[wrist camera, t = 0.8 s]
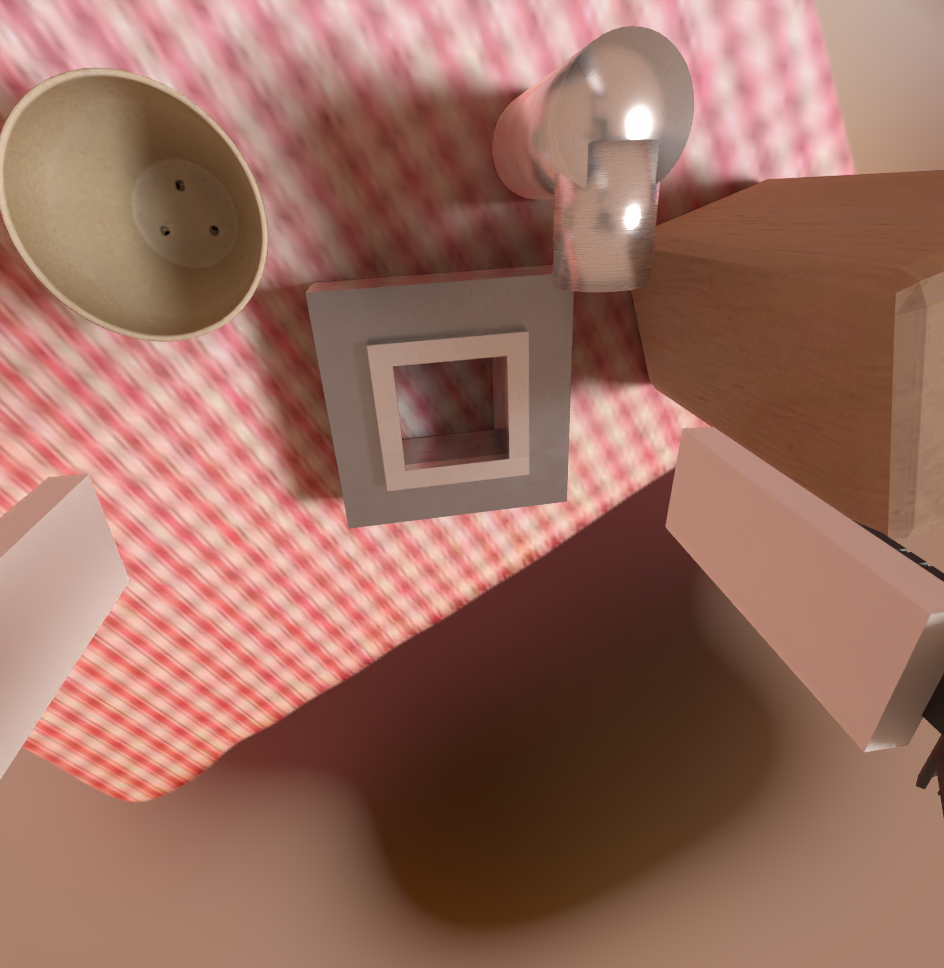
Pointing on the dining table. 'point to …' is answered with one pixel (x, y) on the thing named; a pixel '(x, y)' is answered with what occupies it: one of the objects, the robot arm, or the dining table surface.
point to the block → (813, 335)
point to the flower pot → (131, 205)
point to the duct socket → (439, 338)
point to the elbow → (600, 153)
